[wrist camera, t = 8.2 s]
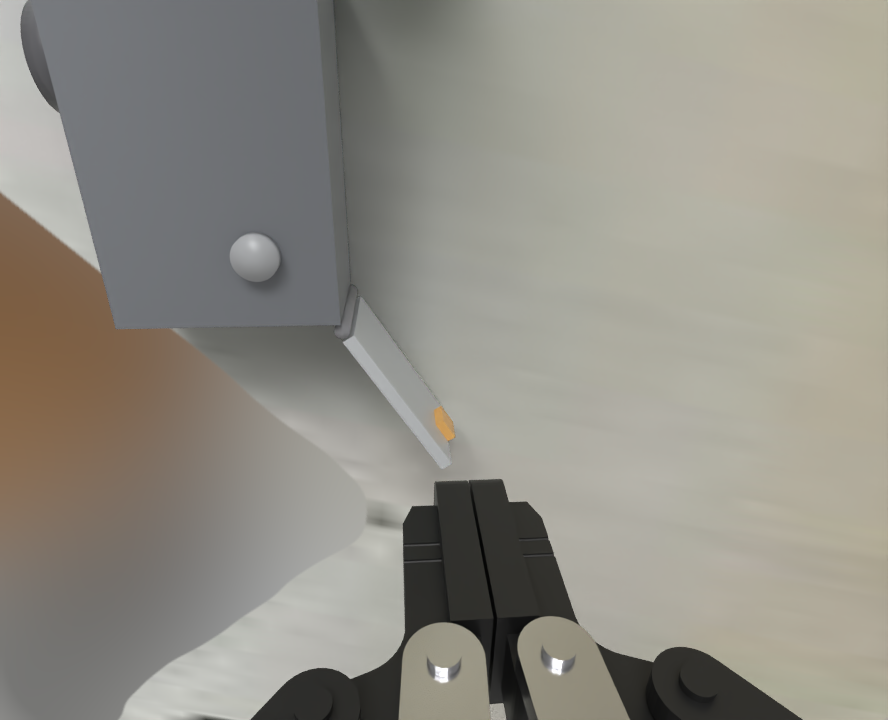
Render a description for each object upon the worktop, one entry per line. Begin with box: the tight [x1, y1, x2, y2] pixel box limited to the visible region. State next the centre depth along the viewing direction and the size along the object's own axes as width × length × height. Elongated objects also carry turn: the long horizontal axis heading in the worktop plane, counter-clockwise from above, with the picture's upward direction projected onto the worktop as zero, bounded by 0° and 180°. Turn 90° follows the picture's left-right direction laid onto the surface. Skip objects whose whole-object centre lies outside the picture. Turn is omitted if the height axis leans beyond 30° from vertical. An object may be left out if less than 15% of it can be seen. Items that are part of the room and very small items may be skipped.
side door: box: [334, 285, 455, 469], centre depth 37 cm, size 2×12×7 cm, turn 31°
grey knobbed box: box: [21, 0, 351, 329], centre depth 30 cm, size 18×14×9 cm
